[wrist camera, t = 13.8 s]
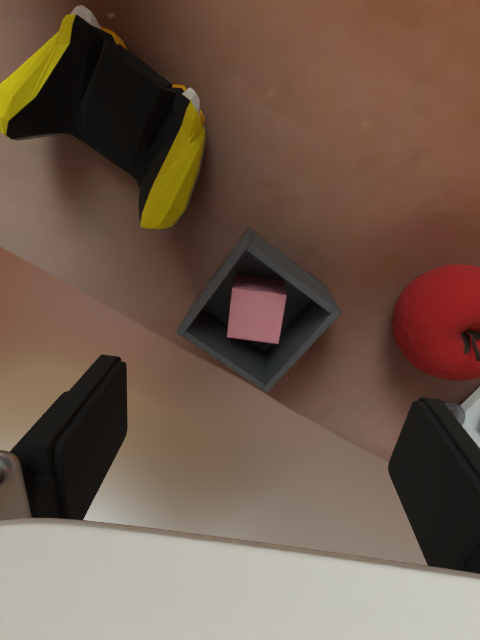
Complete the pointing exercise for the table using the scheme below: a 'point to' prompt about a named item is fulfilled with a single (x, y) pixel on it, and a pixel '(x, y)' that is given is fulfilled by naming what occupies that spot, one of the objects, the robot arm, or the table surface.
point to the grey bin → (298, 320)
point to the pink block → (256, 309)
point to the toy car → (468, 415)
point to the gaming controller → (111, 113)
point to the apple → (441, 322)
